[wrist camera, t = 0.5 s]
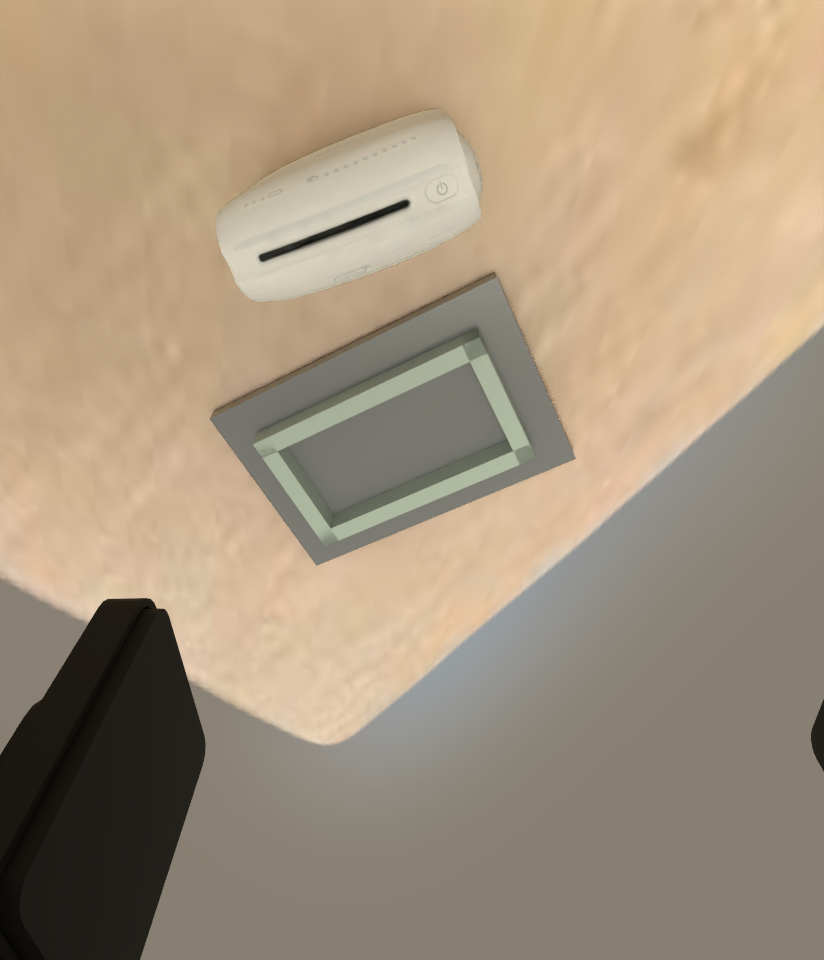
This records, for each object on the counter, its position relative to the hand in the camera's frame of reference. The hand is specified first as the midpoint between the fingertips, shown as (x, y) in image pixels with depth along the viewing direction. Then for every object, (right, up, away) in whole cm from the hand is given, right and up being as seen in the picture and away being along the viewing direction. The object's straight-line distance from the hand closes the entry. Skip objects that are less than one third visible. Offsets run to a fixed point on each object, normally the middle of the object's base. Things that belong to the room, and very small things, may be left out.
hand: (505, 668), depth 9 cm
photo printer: (-4, +18, +24) cm, 30 cm away
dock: (-2, +6, +31) cm, 32 cm away
